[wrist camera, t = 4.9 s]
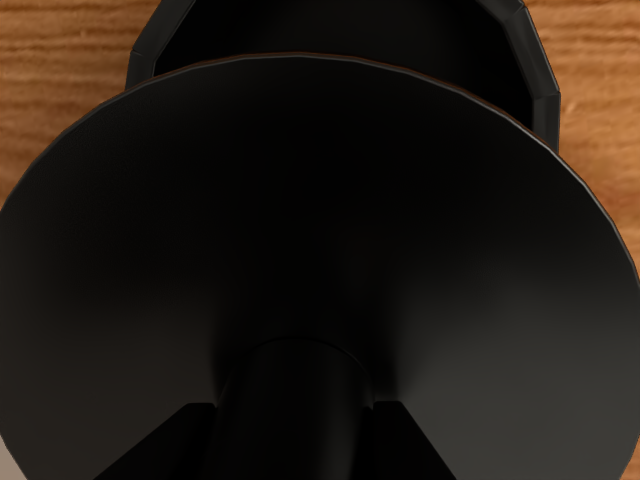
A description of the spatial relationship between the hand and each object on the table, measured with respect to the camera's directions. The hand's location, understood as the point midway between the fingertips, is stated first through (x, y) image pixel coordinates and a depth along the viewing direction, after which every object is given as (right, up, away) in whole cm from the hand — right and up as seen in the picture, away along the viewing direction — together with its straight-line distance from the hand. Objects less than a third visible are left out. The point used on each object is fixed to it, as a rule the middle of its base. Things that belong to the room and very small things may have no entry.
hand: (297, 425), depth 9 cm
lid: (0, 0, +1) cm, 1 cm away
